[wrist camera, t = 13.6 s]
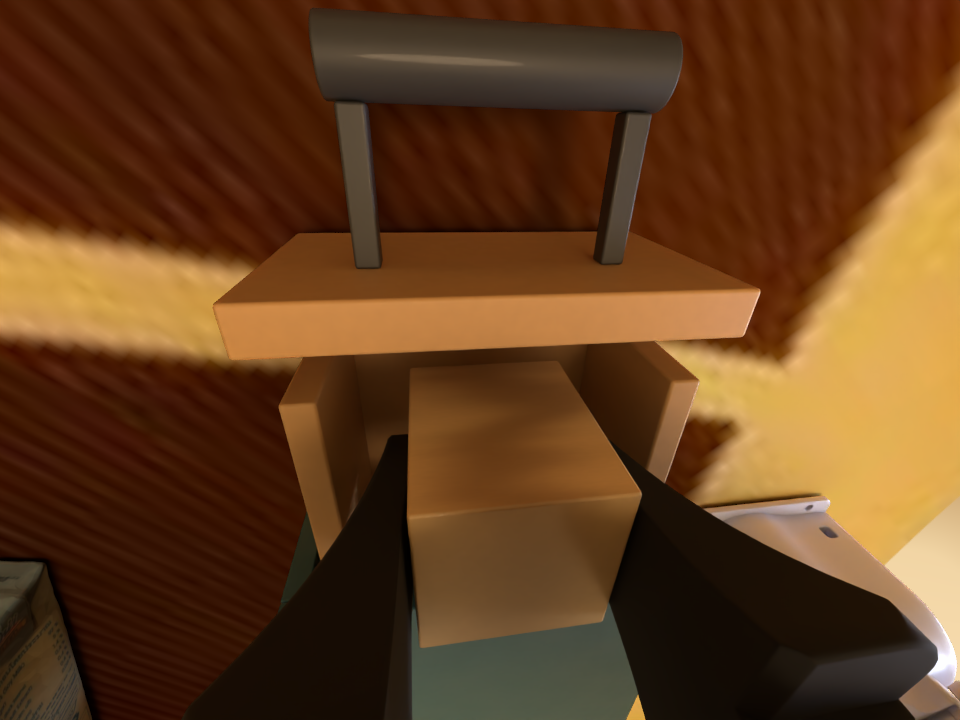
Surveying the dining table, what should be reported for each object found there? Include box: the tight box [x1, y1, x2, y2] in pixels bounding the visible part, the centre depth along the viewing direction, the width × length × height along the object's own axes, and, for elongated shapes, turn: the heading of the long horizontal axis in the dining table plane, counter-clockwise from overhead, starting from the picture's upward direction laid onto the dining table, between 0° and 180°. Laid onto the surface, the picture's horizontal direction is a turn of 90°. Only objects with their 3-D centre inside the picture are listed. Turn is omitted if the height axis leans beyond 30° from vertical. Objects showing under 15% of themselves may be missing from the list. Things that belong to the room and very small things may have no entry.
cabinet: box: [278, 512, 638, 720], centre depth 18 cm, size 14×12×8 cm
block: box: [407, 361, 642, 648], centre depth 10 cm, size 4×4×5 cm
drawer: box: [213, 8, 760, 561], centre depth 13 cm, size 18×11×6 cm, turn 179°
